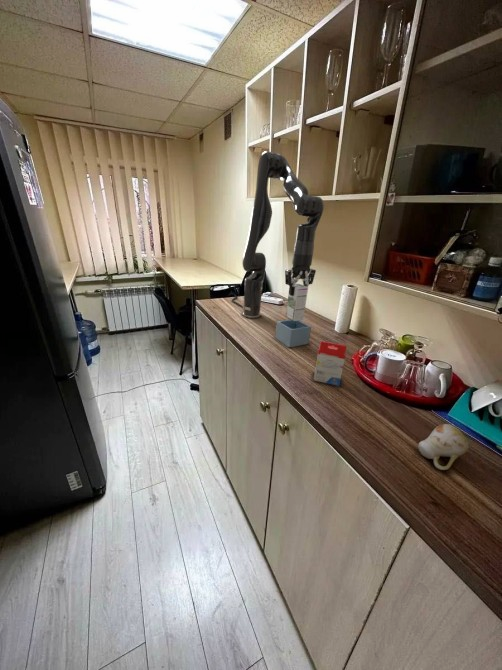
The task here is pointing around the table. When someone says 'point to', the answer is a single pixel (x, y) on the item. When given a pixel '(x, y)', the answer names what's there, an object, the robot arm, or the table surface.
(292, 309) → the syrup box
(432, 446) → the mug
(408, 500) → the table surface
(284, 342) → the tidy
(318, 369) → the ink box
